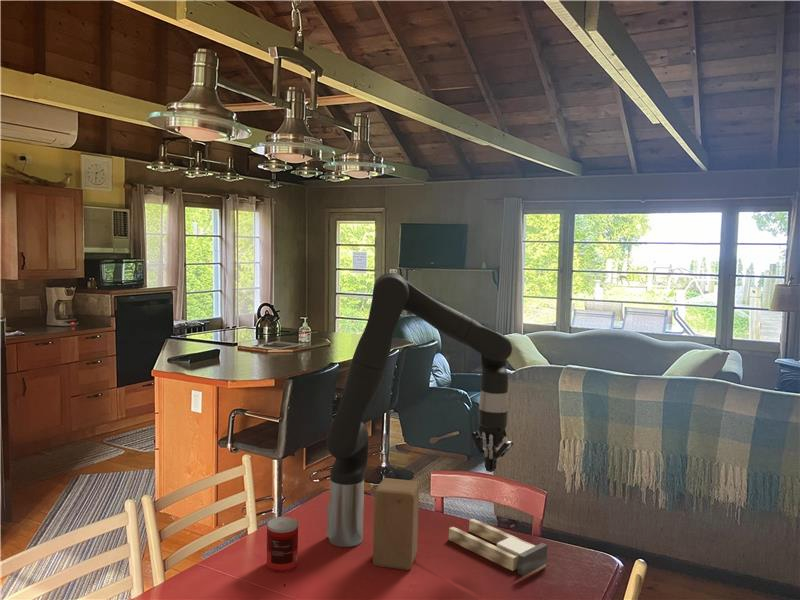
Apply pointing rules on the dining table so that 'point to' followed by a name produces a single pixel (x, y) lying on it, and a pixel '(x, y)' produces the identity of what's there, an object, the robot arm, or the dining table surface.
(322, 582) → the dining table surface
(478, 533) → the birch chute
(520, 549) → the off-white block
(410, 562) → the wooden block
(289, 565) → the canned food
